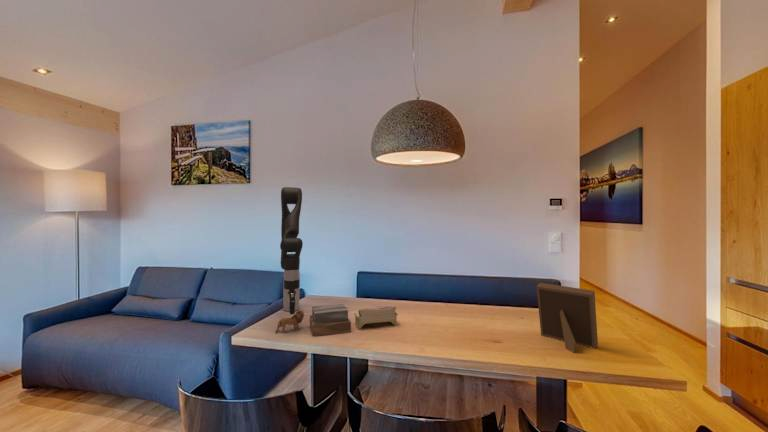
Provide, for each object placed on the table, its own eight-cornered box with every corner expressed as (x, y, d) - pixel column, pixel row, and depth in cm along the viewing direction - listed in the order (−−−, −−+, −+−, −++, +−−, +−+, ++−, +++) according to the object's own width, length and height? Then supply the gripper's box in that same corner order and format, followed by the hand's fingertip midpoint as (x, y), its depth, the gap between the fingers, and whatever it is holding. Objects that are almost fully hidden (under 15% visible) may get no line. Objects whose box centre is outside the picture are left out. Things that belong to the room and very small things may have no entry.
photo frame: (544, 332, 154) (544, 280, 154) (597, 346, 139) (597, 288, 138) (532, 342, 144) (532, 286, 144) (588, 357, 129) (588, 294, 128)
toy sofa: (392, 320, 173) (392, 301, 173) (397, 326, 165) (397, 306, 165) (354, 324, 167) (354, 305, 167) (357, 330, 159) (357, 309, 159)
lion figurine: (301, 325, 165) (301, 308, 165) (306, 328, 161) (306, 310, 161) (272, 332, 156) (272, 314, 156) (277, 336, 152) (277, 316, 151)
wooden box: (309, 325, 166) (309, 305, 166) (344, 321, 171) (344, 302, 171) (312, 336, 151) (312, 315, 150) (350, 332, 156) (350, 311, 156)
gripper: (283, 276, 165) (283, 308, 165) (283, 281, 151) (284, 316, 151) (298, 275, 167) (298, 307, 167) (300, 280, 153) (300, 314, 153)
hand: (291, 311), depth 159 cm, fingers open, 8 cm apart
